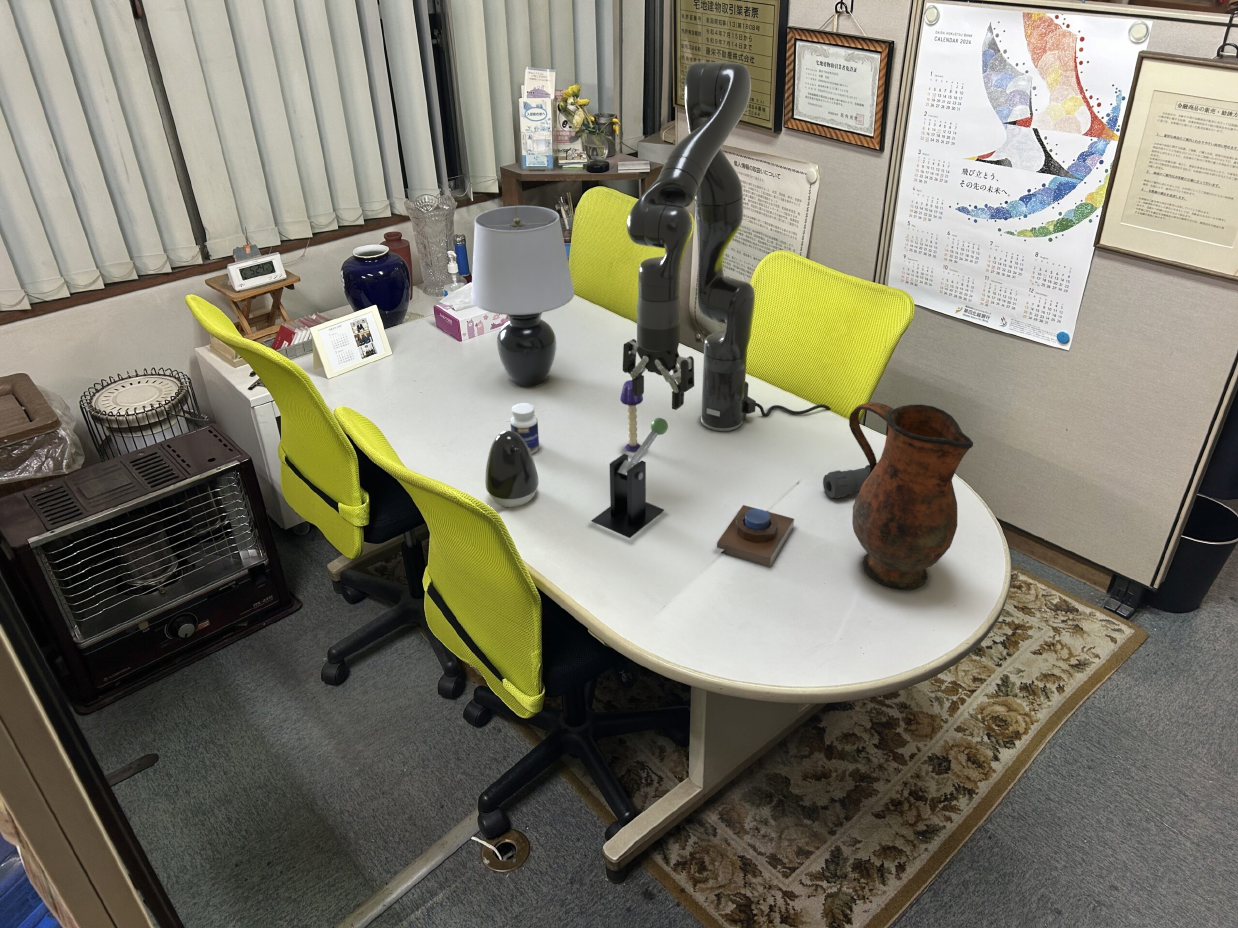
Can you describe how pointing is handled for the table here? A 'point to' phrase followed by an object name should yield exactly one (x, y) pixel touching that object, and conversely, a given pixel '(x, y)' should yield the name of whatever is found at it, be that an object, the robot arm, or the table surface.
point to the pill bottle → (526, 425)
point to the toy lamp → (631, 414)
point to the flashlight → (844, 482)
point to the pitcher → (908, 493)
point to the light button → (757, 519)
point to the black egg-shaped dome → (510, 471)
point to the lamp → (521, 284)
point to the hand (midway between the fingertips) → (657, 401)
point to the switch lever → (644, 446)
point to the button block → (755, 538)
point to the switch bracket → (627, 500)
